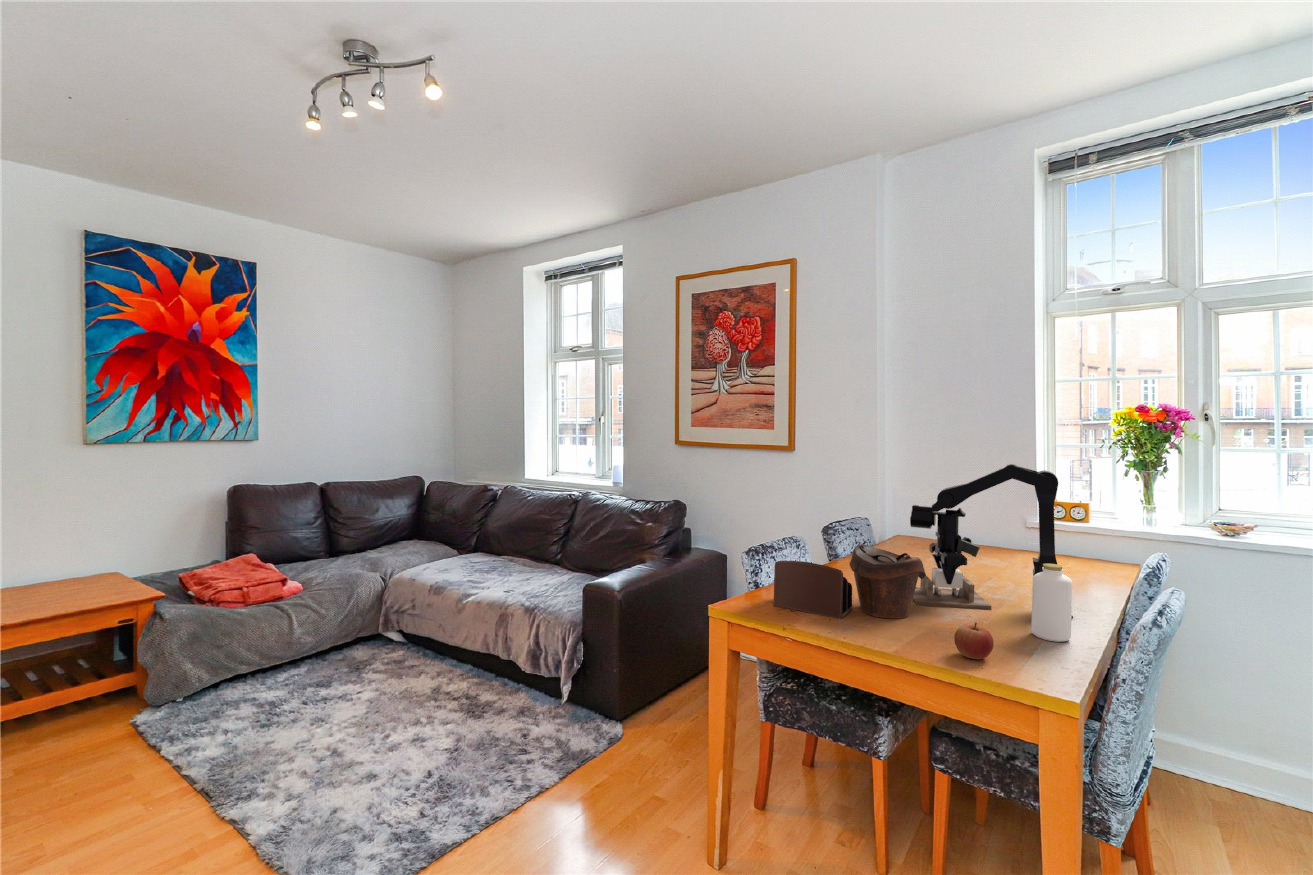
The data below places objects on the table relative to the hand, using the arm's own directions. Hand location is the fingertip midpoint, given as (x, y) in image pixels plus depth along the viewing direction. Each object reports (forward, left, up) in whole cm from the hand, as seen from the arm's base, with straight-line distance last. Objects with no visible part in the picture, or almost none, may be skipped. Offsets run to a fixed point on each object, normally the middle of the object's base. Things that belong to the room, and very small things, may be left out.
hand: (946, 582), depth 184 cm
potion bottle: (-29, -17, -5) cm, 34 cm away
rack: (0, 0, -5) cm, 5 cm away
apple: (-47, +6, -5) cm, 48 cm away
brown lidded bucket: (-17, +20, -5) cm, 27 cm away
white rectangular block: (0, 0, -1) cm, 1 cm away
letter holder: (-18, +40, -6) cm, 44 cm away
